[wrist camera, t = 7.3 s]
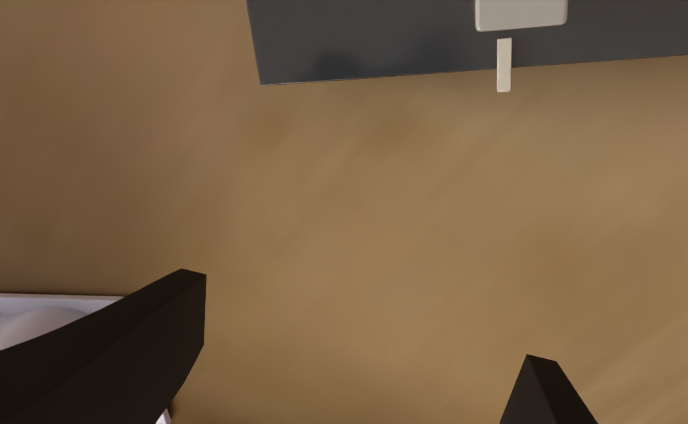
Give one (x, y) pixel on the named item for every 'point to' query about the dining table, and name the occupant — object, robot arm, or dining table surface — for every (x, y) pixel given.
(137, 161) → the dining table surface
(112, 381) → the robot arm
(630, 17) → the tile base
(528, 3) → the upright gray tile
